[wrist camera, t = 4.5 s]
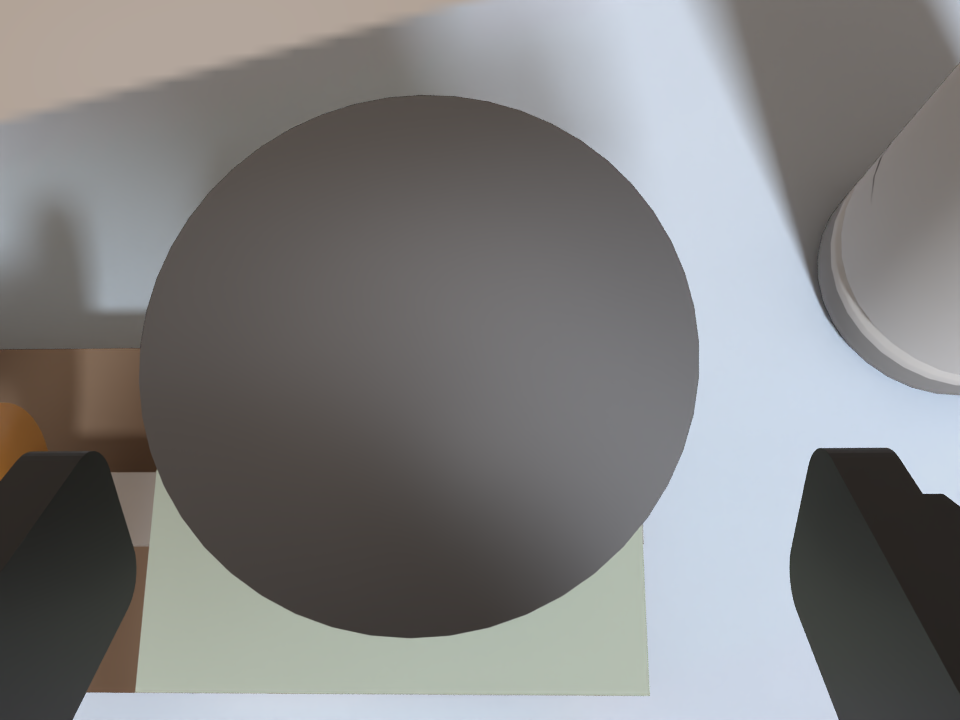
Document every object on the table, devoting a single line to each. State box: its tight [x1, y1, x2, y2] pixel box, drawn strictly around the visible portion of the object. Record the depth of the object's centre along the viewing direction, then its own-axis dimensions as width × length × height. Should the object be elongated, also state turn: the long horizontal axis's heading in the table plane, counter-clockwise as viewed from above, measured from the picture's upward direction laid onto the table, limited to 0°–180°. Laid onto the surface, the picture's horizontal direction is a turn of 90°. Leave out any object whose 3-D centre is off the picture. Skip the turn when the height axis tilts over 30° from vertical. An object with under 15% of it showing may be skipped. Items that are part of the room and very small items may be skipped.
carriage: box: [135, 95, 699, 696], centre depth 12 cm, size 9×7×13 cm
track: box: [0, 348, 644, 696], centre depth 20 cm, size 22×8×2 cm, turn 90°
